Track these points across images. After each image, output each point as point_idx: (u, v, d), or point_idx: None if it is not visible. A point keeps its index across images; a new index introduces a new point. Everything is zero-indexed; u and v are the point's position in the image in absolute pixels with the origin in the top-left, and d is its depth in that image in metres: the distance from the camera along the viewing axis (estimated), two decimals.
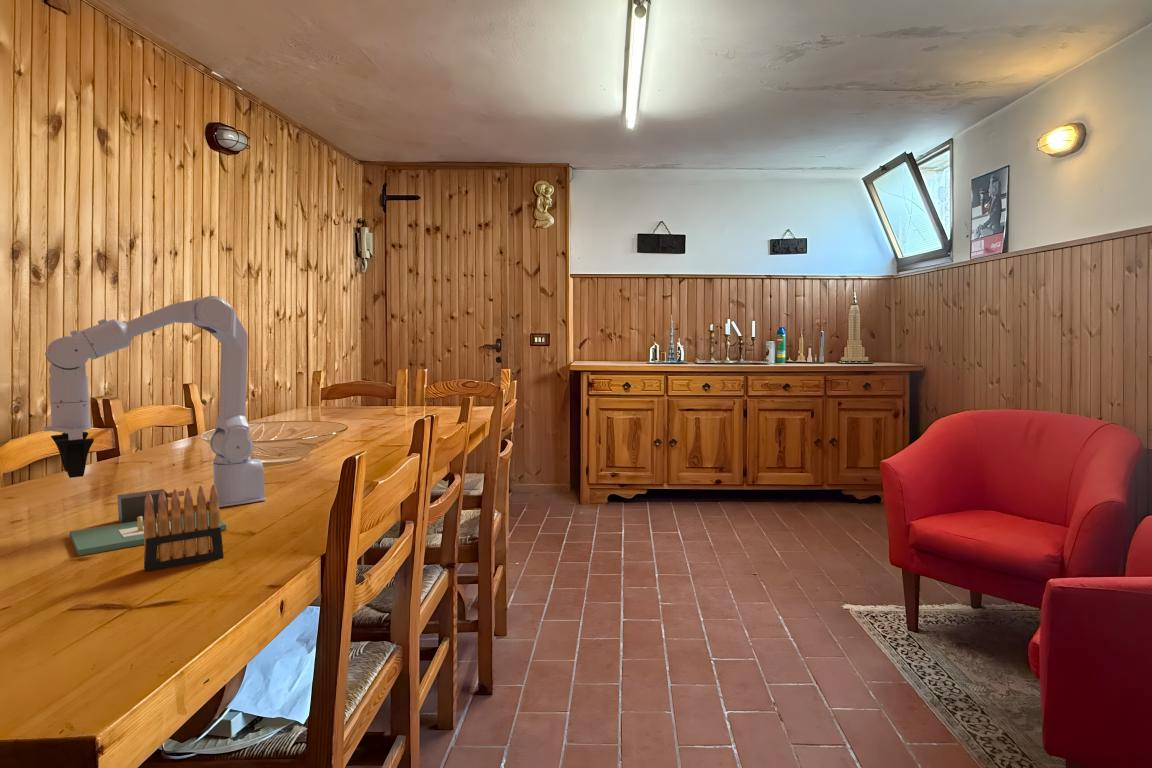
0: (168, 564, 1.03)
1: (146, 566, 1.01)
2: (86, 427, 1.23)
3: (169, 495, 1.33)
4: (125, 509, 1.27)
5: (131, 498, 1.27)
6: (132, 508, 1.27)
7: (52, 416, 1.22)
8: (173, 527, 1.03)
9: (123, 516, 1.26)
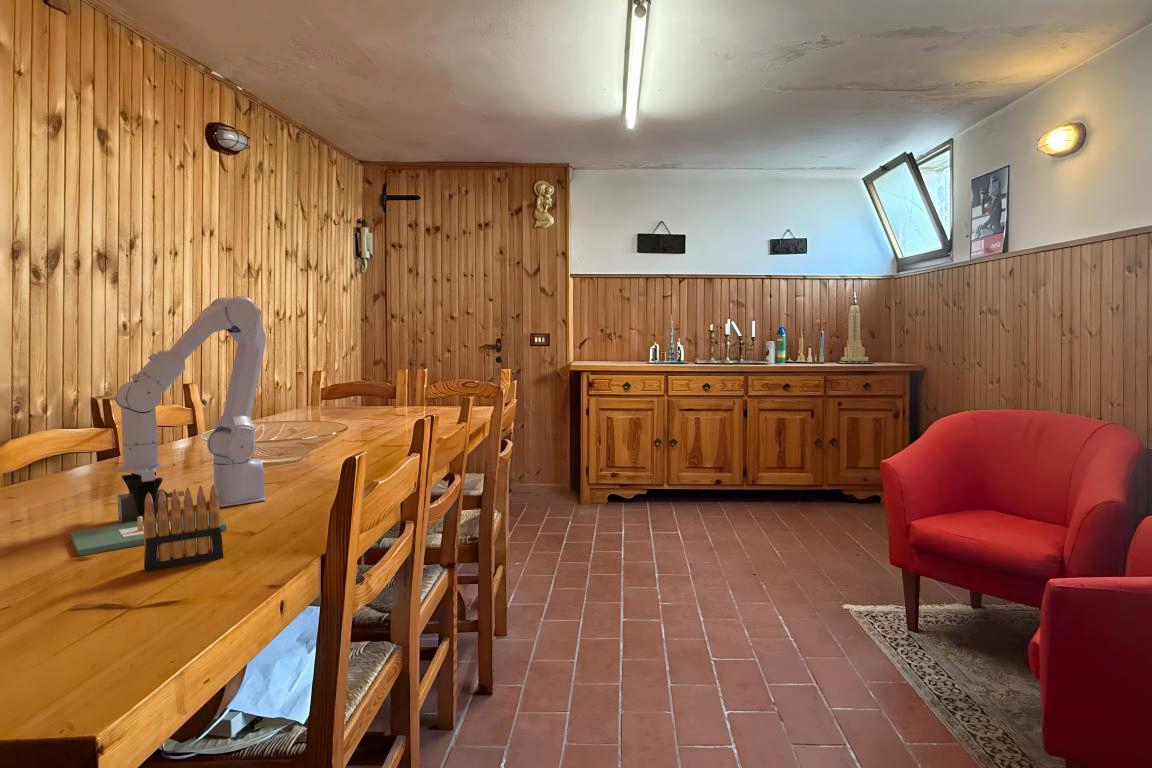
0: (168, 564, 1.03)
1: (146, 566, 1.01)
2: (156, 468, 1.28)
3: (169, 495, 1.33)
4: (125, 509, 1.27)
5: (131, 498, 1.27)
6: (132, 508, 1.27)
7: (124, 457, 1.27)
8: (173, 527, 1.03)
9: (123, 516, 1.26)
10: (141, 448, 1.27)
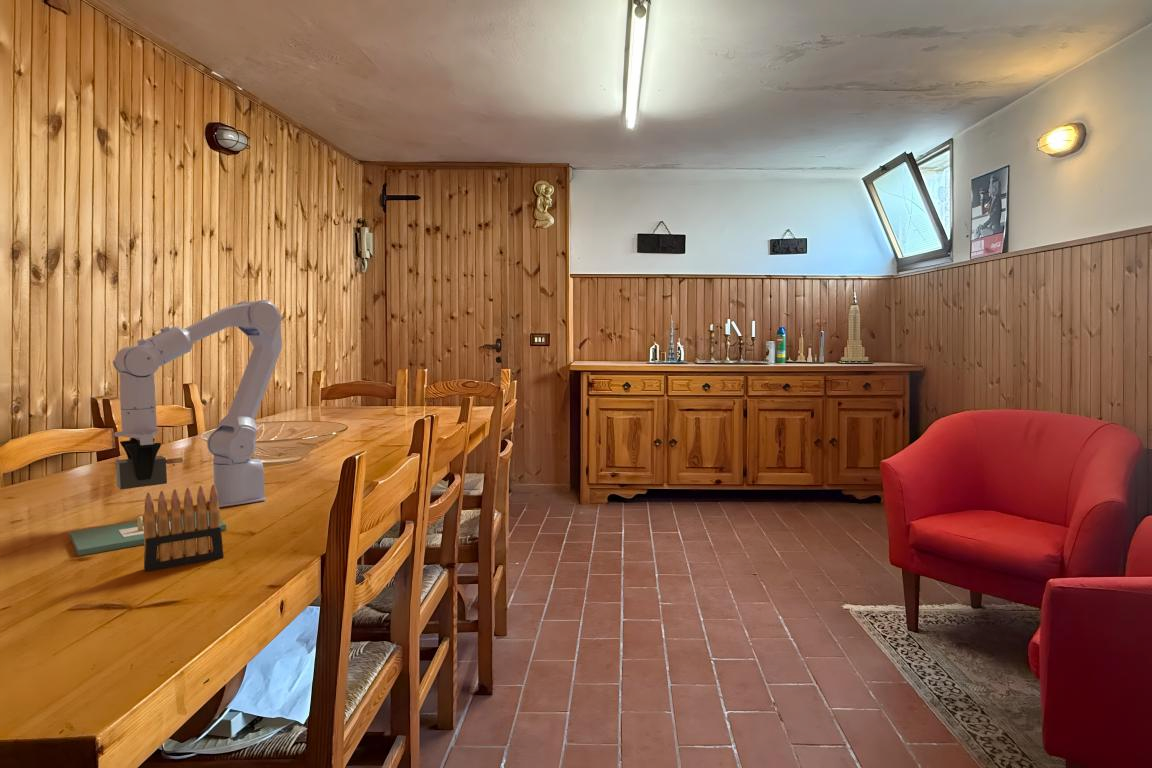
0: (168, 564, 1.03)
1: (146, 566, 1.01)
2: (155, 433, 1.28)
3: (168, 461, 1.32)
4: (123, 474, 1.26)
5: (129, 463, 1.27)
6: (130, 472, 1.27)
7: (122, 422, 1.27)
8: (173, 527, 1.03)
9: (121, 481, 1.26)
10: (139, 412, 1.27)
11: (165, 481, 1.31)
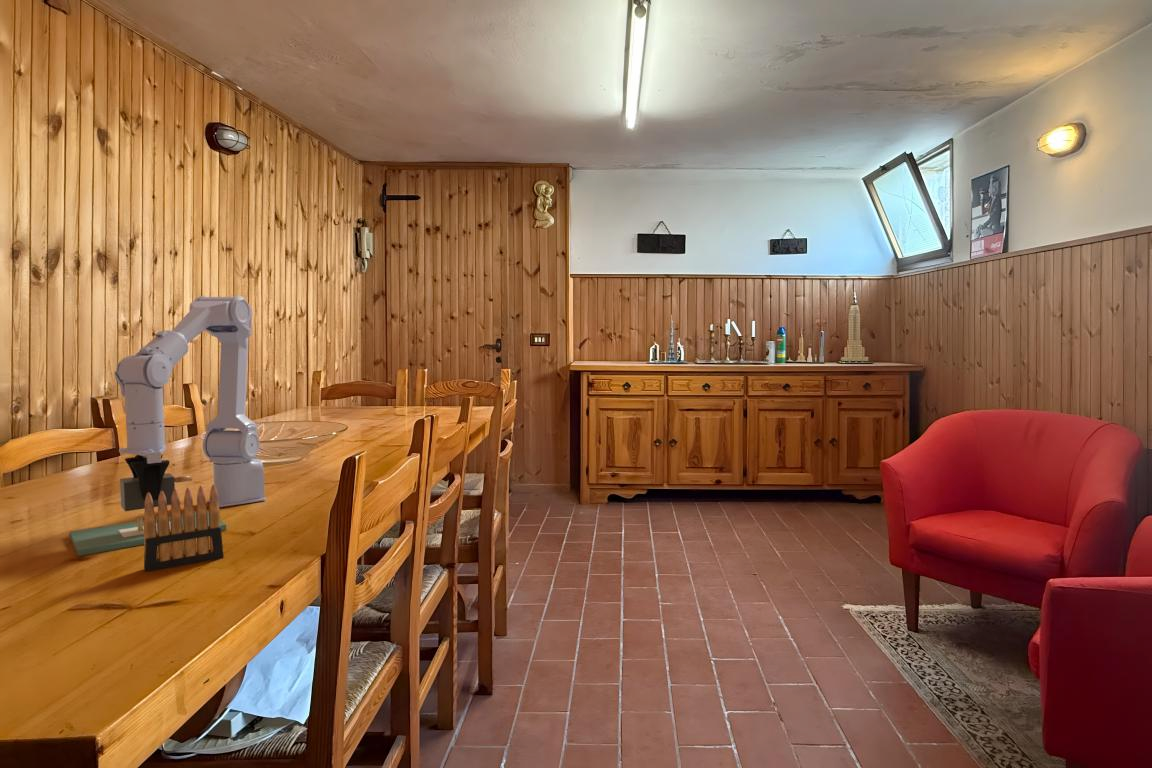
0: (168, 564, 1.03)
1: (146, 566, 1.01)
2: (163, 449, 1.18)
3: (176, 480, 1.22)
4: (128, 494, 1.16)
5: (135, 482, 1.16)
6: (136, 493, 1.17)
7: (128, 438, 1.17)
8: (173, 527, 1.03)
9: (126, 502, 1.16)
10: (146, 427, 1.17)
11: None
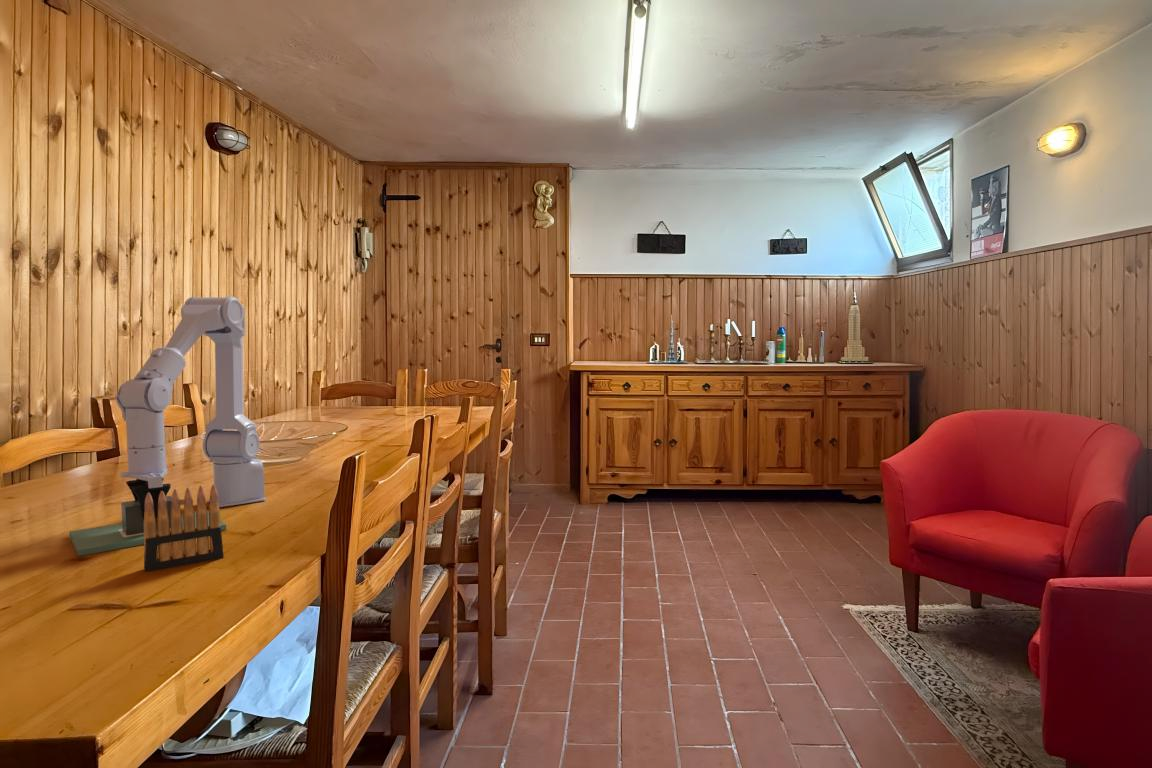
0: (168, 564, 1.03)
1: (146, 566, 1.01)
2: (164, 473, 1.18)
3: None
4: (130, 518, 1.16)
5: (136, 506, 1.17)
6: (137, 517, 1.17)
7: (129, 462, 1.17)
8: (173, 527, 1.03)
9: (127, 526, 1.16)
10: (147, 452, 1.17)
11: None
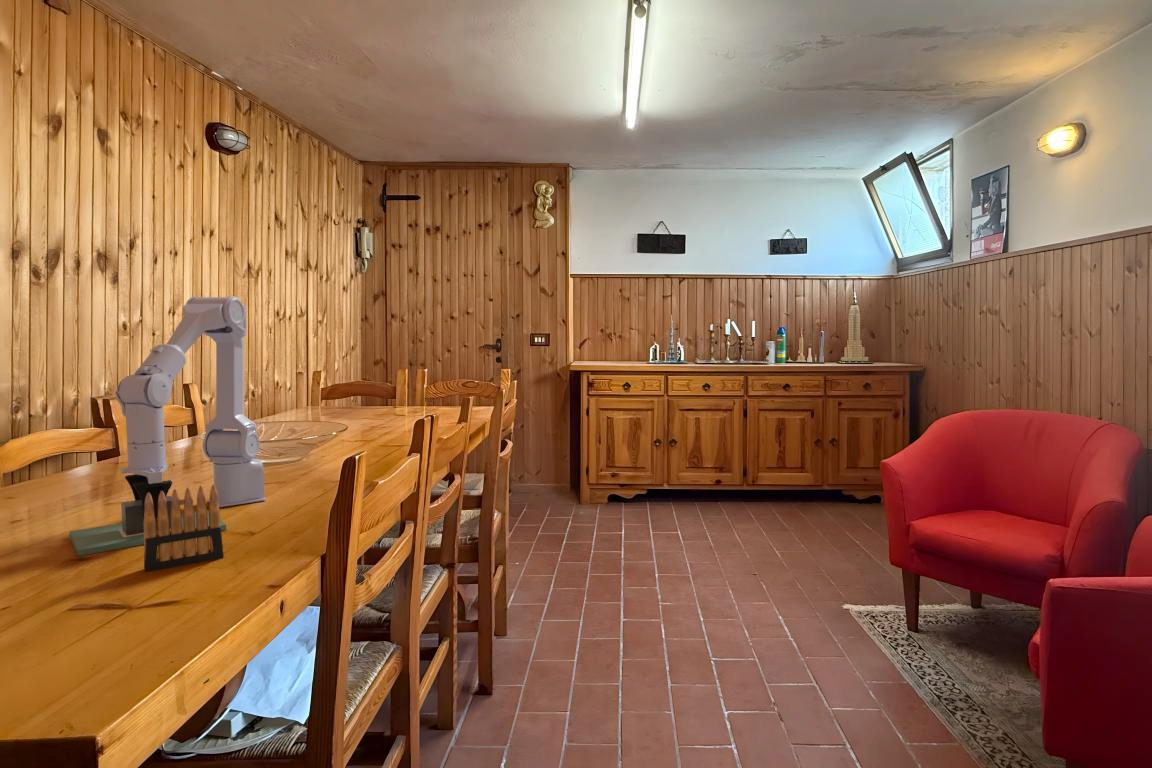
0: (168, 564, 1.03)
1: (146, 566, 1.01)
2: (164, 469, 1.18)
3: None
4: (129, 518, 1.16)
5: (136, 506, 1.17)
6: (137, 517, 1.17)
7: (129, 457, 1.17)
8: (173, 527, 1.03)
9: (127, 526, 1.16)
10: (147, 447, 1.17)
11: None
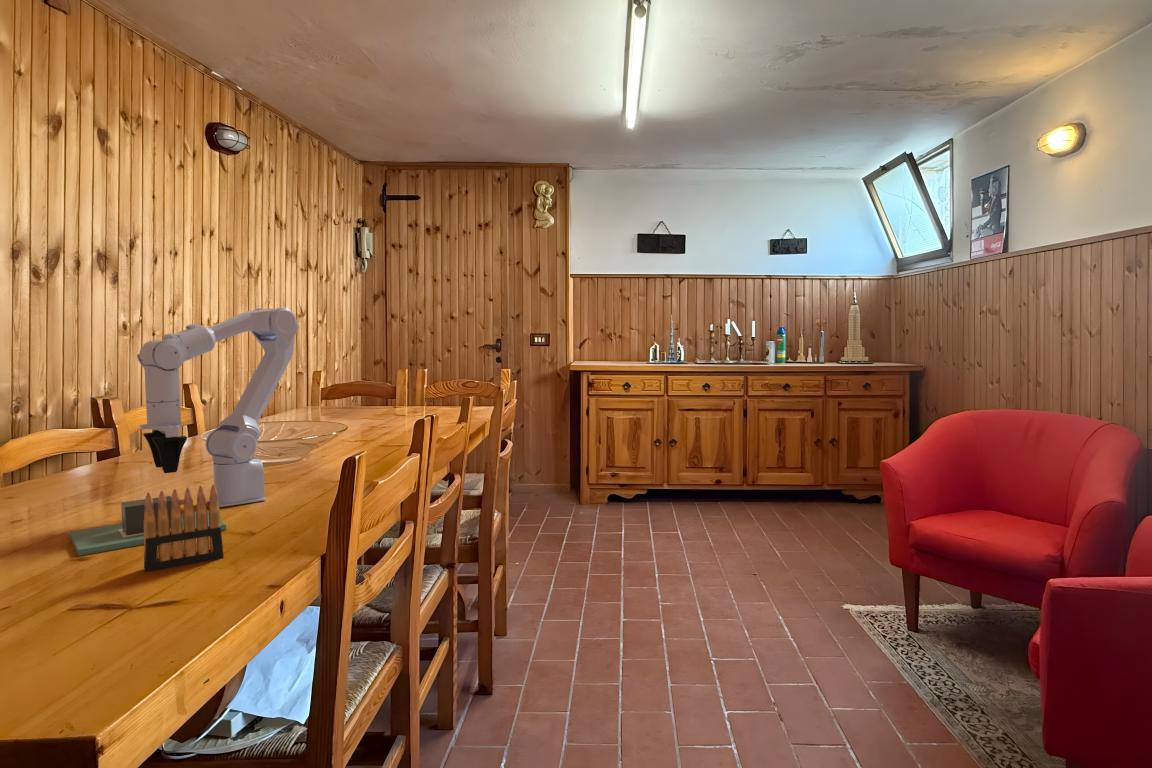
0: (168, 564, 1.03)
1: (146, 566, 1.01)
2: (179, 425, 1.30)
3: None
4: (129, 518, 1.16)
5: (136, 506, 1.17)
6: (137, 517, 1.17)
7: (148, 415, 1.29)
8: (173, 527, 1.03)
9: (127, 526, 1.16)
10: (164, 405, 1.29)
11: None
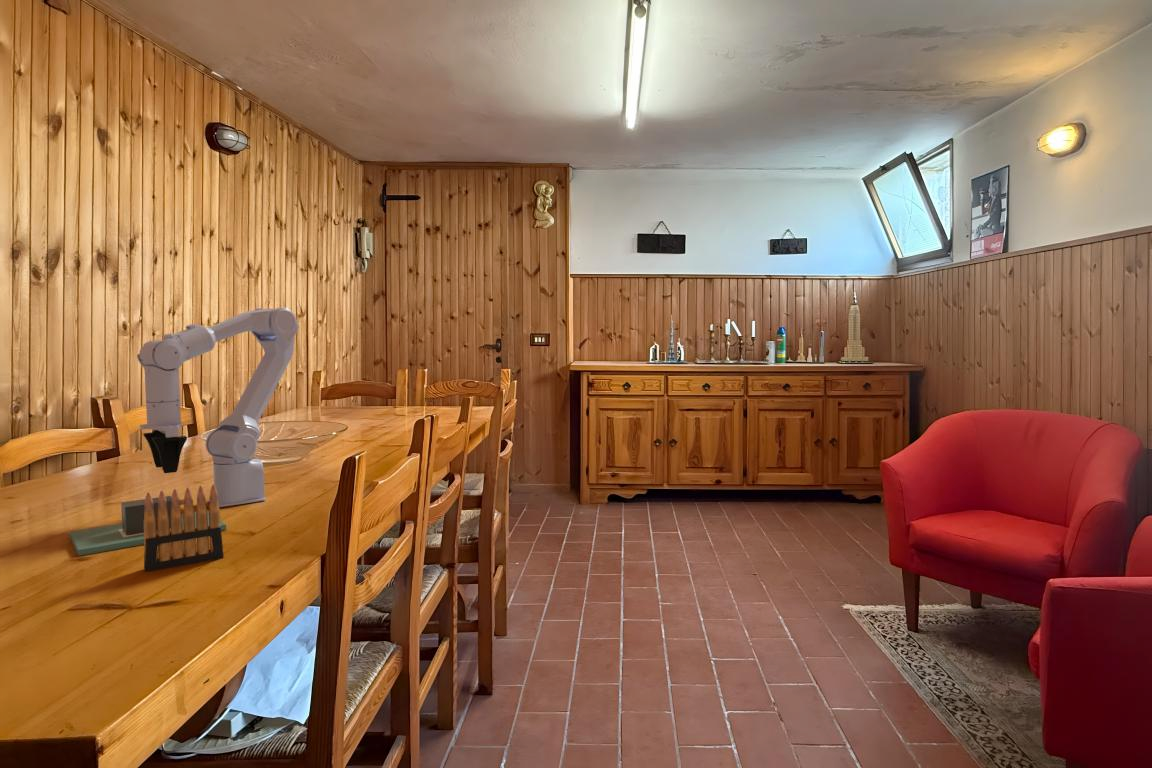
0: (168, 564, 1.03)
1: (146, 566, 1.01)
2: (179, 425, 1.30)
3: None
4: (129, 518, 1.16)
5: (136, 506, 1.17)
6: (137, 517, 1.17)
7: (148, 415, 1.29)
8: (173, 527, 1.03)
9: (127, 526, 1.16)
10: (164, 405, 1.29)
11: None
